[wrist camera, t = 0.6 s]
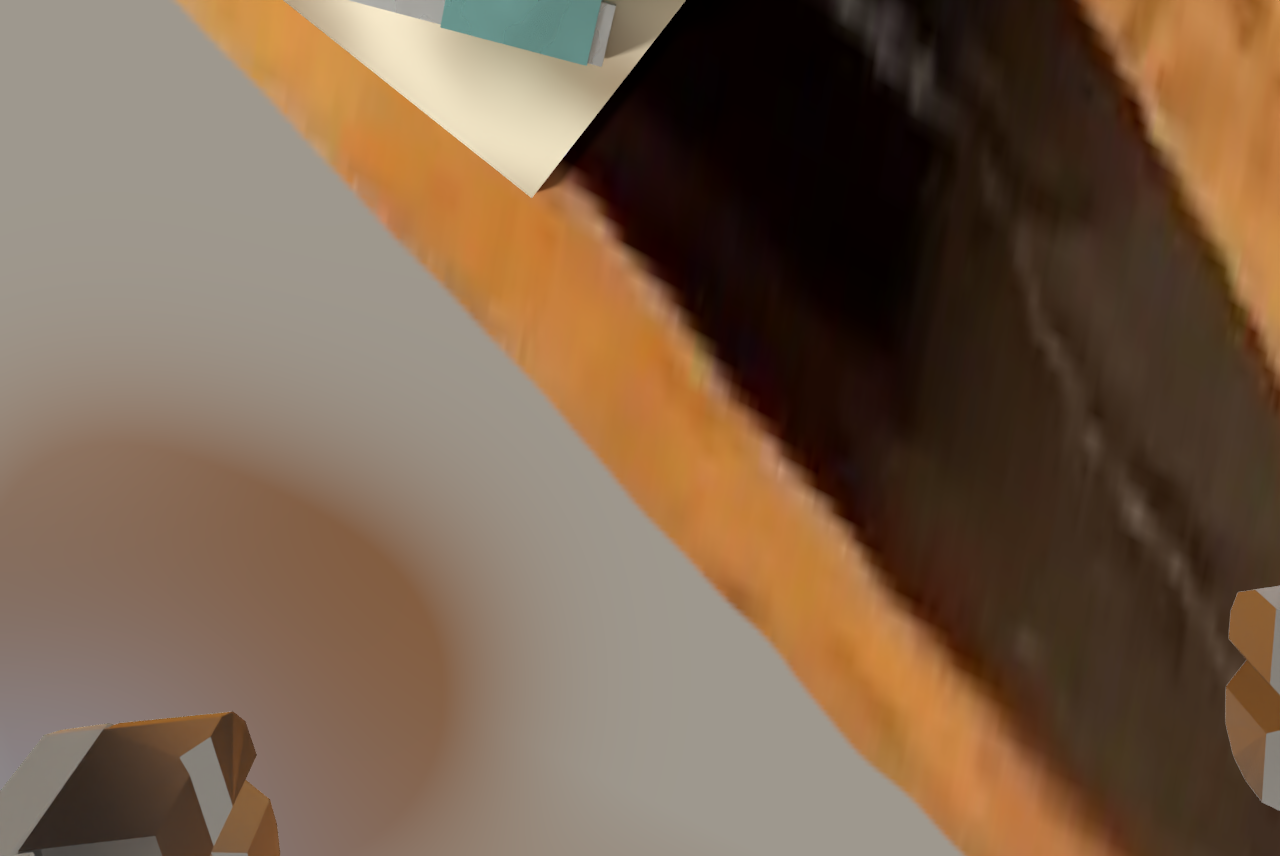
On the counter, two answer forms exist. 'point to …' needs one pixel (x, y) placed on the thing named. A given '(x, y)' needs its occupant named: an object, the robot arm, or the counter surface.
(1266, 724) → the robot arm
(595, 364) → the counter surface
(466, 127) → the board
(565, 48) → the tong arm
